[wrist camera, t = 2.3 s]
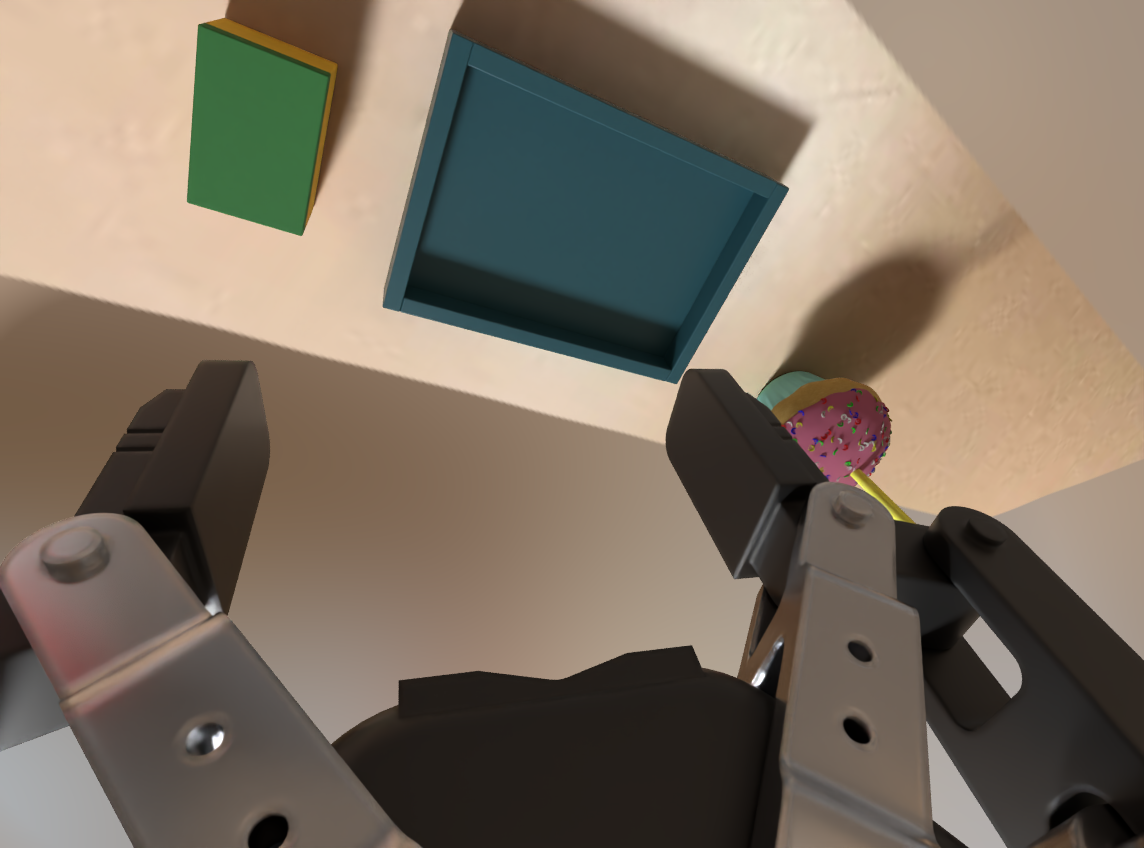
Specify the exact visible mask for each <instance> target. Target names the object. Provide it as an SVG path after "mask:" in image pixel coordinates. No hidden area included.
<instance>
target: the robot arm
mask: <svg viewBox="0 0 1144 848" xmlns="http://www.w3.org/2000/svg"><path fill="white" fill-rule="evenodd" d="M666 450H667V454H668V457H669V459H670V461H671V463H672V465H673V467H674V469H675V471H676V472H677V474H678V476H679V478H680V480H681V482H682V483H683V485H684V487H685V489H686V491H687V493H688V495H689V497H690V498H691V500H692V502H693V504H694V506H695V508H696V510H697V511H698V513H699V515H700V517H701V519H702V521H703V523H704V524H705V526H706V528H707V530H708V532H709V534H710V535H711V537H712V539H713V541H714V543H715V545H716V547H717V548H718V550H719V552H720V554H721V556H722V558H723V559H724V561H725V563H726V565H727V567H728V569H729V571H730V572H731V574H732V576H733V578H734V579H741V578H753V577H759V578H760V580H761V581H762V583H763V585H762V587H761V589H760V591H759V593H758V595H757V598H756V602H755V607H754V611H753V615H752V619H751V623H750V628H749V632H748V636H747V641H746V644H745V649H744V653H743V657H742V662H741V665H740V669H739V673H738V676H737V678H736V677H733V676H730V675H728V674H725V673H721V672H717V671H714V670H710V669H706V668H701V665H700V663H699V661H698V658H697V656H696V654H695V652H694V649H693V647H692V646H682V647H674V648H666V649H657V650H649V651H640V652H632V653H626V654H624V655H621V656H619V657H616V658H614V659H611V660H609V661H606V662H604V663H602V664H599V665H597V666H594V667H592V668H589V669H587V670H584V671H582V672H580V673H577V674H575V675H572V676H570V677H568V678H564V679H560V680H549V679H541V678H532V677H523V676H516V675H507V674H499V673H491V672H483V671H474V672H465V673H458V674H449V675H441V676H432V677H424V678H416V679H407V680H399V705H397V706H394V707H392V708H389V709H387V710H385V711H382V712H380V713H378V714H376V715H374V716H372V717H370V718H368V719H366V720H365V721H363V722H361V723H359V724H358V725H356V726H355V727H353V728H352V729H350V730H349V731H347V732H346V733H345V734H343V735H342V736H341V737H339V738H338V739H337V740H336V741H335V742H333V743H332V744H330V743H329V742H328V740H327V739H326V738H325V736H324V735H323V734H322V733H321V731H320V730H319V729H318V728H317V727H316V725H315V724H314V723H313V721H312V720H311V719H310V718H309V716H308V715H307V714H306V713H305V711H304V710H303V709H302V708H301V707H300V705H299V704H298V703H297V701H296V700H295V699H294V698H293V697H292V695H291V694H290V693H289V692H288V690H287V689H286V688H285V686H284V685H283V684H282V683H281V681H280V680H279V679H278V678H277V676H276V675H275V674H274V673H273V671H272V670H271V669H270V668H269V667H268V665H267V664H266V663H265V661H264V660H263V659H262V658H261V656H260V655H259V654H258V653H257V652H256V650H255V649H254V648H253V647H252V645H251V644H250V643H249V642H248V640H247V639H246V638H245V636H244V635H243V634H242V633H241V631H240V630H239V629H238V628H237V627H236V625H235V624H234V623H233V622H232V621H231V620H230V618H229V617H228V612H229V609H230V605H231V601H232V598H233V594H234V591H235V587H236V583H237V580H238V576H239V572H240V569H241V565H242V561H243V558H244V554H245V550H246V547H247V543H248V540H249V536H250V532H251V528H252V525H253V521H254V518H255V514H256V510H257V507H258V503H259V500H260V495H261V492H262V488H263V485H264V481H265V477H266V474H267V470H268V466H269V458H270V441H269V432H268V427H267V421H266V416H265V410H264V405H263V400H262V394H261V389H260V383H259V378H258V373H257V369H256V367H255V364H254V363H253V361H234V360H233V361H232V360H202V361H201V362H200V363H199V365H198V367H197V368H196V370H195V372H194V374H193V376H192V378H191V380H190V382H189V384H188V385H187V388H186V389H184V390H183V389H182V390H181V389H175V390H174V389H166V390H164V391H163V392H162V393H160V394H159V395H157V396H156V397H155V398H153V399H152V400H150V401H149V402H147V403H146V404H145V405H143V406H142V407H140V409H139V410H138V412H137V414H136V415H135V417H134V419H133V420H132V422H131V423H130V425H129V427H128V428H127V434H124V435H123V437H122V438H121V440H120V442H119V443H118V445H117V447H116V452H113V453H112V455H111V457H110V458H109V460H108V461H107V463H106V465H105V466H104V468H103V470H102V471H101V473H100V475H99V476H98V478H97V480H96V481H95V483H94V485H93V486H92V488H91V490H90V491H89V493H88V495H87V497H86V498H85V499H84V501H83V503H82V505H81V506H80V508H79V509H78V511H77V513H76V514H75V516H74V517H72V518H68V519H64V520H62V521H59V522H56V523H53V524H51V525H49V526H46V527H44V528H42V529H40V530H39V531H37V532H35V533H33V534H31V535H30V536H29V537H27V538H26V539H24V540H23V541H22V542H20V543H19V544H18V545H17V546H16V547H14V548H13V549H12V550H11V552H10V553H9V554H8V555H7V556H6V557H5V559H4V561H3V562H2V564H1V566H0V751H3V750H6V749H8V748H11V747H13V746H16V745H19V744H22V743H24V742H27V741H30V740H32V739H35V738H37V737H40V736H43V735H46V734H48V733H51V732H54V731H56V730H59V729H62V728H64V727H67V726H70V727H71V729H72V731H73V733H74V735H75V737H76V739H77V741H78V743H79V745H80V746H81V748H82V750H83V752H84V754H85V756H86V758H87V760H88V761H89V763H90V765H91V767H92V769H93V771H94V773H95V775H96V777H97V779H98V781H99V782H100V784H101V786H102V788H103V790H104V792H105V794H106V796H107V797H108V799H109V801H110V803H111V805H112V807H113V809H114V811H115V813H116V815H117V816H118V818H119V820H120V822H121V824H122V826H123V828H124V830H125V832H126V833H127V835H128V837H129V839H130V841H131V843H132V845H133V847H134V848H968V847H967V846H965V844H963V843H962V842H961V841H959V840H958V839H957V838H955V837H954V836H953V835H951V834H950V833H949V832H948V831H946V830H945V829H944V828H942V827H941V826H940V825H938V824H937V823H936V822H935V821H933V820H932V807H931V792H930V776H929V759H928V745H927V728H926V721H927V722H928V724H929V726H930V727H931V729H932V730H933V732H934V733H935V735H936V737H937V738H938V740H939V741H940V743H941V744H942V746H943V748H944V749H945V751H946V752H947V754H948V755H949V757H950V759H951V760H952V762H953V763H954V765H955V766H956V768H957V770H958V771H959V772H960V774H961V776H962V777H963V779H964V780H965V782H966V784H967V785H968V787H969V788H970V790H971V791H972V793H973V795H974V796H975V798H976V799H977V800H978V802H979V804H980V805H981V807H982V809H983V810H984V812H985V813H986V815H987V817H988V818H989V820H990V821H991V823H992V824H993V826H994V827H995V829H996V831H997V832H998V834H999V835H1000V837H1001V838H1002V840H1003V841H1004V843H1005V845H1006V846H1007V848H1144V660H1143V659H1142V658H1141V657H1140V656H1139V655H1138V654H1137V653H1136V652H1135V651H1134V650H1133V649H1132V648H1131V647H1129V646H1128V644H1127V643H1126V642H1124V640H1122V638H1121V637H1119V635H1117V634H1116V633H1115V632H1114V631H1113V630H1112V629H1111V628H1110V627H1109V626H1108V625H1107V624H1106V623H1105V622H1104V621H1103V620H1102V619H1101V618H1100V617H1099V616H1098V615H1097V614H1096V613H1095V612H1094V611H1093V610H1092V609H1091V608H1090V607H1089V606H1088V605H1087V604H1086V603H1085V602H1084V601H1083V600H1082V599H1081V598H1080V597H1079V596H1078V595H1077V594H1076V593H1075V592H1074V591H1073V590H1072V589H1071V588H1070V587H1069V586H1068V585H1067V584H1066V583H1065V582H1064V581H1063V580H1062V579H1061V578H1060V577H1059V576H1058V575H1057V574H1056V573H1055V572H1054V571H1052V569H1051V568H1050V567H1048V565H1047V564H1045V563H1044V562H1043V561H1042V560H1041V559H1040V558H1039V557H1038V556H1037V555H1036V554H1035V553H1034V552H1033V551H1032V550H1031V549H1030V548H1029V547H1028V546H1027V545H1026V544H1025V543H1024V542H1023V541H1022V540H1021V539H1020V538H1019V537H1018V536H1017V535H1016V534H1015V533H1014V532H1013V531H1012V530H1010V529H1009V528H1008V527H1007V526H1005V525H1004V524H1002V523H1001V522H999V521H998V520H996V519H994V518H992V517H990V516H988V515H986V514H984V513H982V512H979V511H977V510H974V509H970V508H966V507H959V506H951V507H947V508H944V509H943V510H941V512H940V513H939V514H938V516H937V517H936V519H935V520H934V521H933V523H932V524H931V526H930V527H929V526H924V525H919V524H914V523H909V522H904V521H899V520H894V519H893V517H892V515H891V514H890V512H889V511H888V509H887V508H886V507H885V506H884V505H883V504H882V503H881V502H880V501H878V500H877V499H876V498H875V497H873V496H872V495H870V494H868V493H867V492H865V491H863V490H861V489H859V488H856V487H854V486H851V485H848V484H844V483H839V482H830V481H829V480H828V479H827V478H826V476H825V475H824V474H823V473H822V472H821V470H820V469H819V468H818V467H817V466H816V464H815V463H814V462H813V461H812V460H811V458H810V457H809V456H808V455H807V454H806V452H805V451H804V450H803V449H802V447H801V446H800V445H799V444H798V443H797V441H796V440H792V435H791V434H790V433H789V432H788V431H787V429H786V428H785V427H781V422H780V421H779V420H778V419H777V417H776V416H775V415H774V414H773V413H772V411H771V410H770V409H769V408H768V407H767V406H766V405H764V404H763V403H761V402H760V401H758V400H757V399H756V398H754V397H753V396H751V395H750V394H748V393H745V392H744V391H743V390H742V388H741V387H740V386H739V385H738V383H737V382H736V381H735V380H734V378H733V377H732V376H731V375H730V373H729V372H728V371H726V370H724V369H689V370H688V371H686V373H685V374H684V376H683V378H682V381H681V384H680V388H679V391H678V394H677V398H676V401H675V404H674V408H673V411H672V414H671V418H670V421H669V424H668V427H667V432H666ZM980 616H981V617H982V619H983V620H984V621H985V622H986V623H987V625H988V626H989V627H990V628H991V630H992V631H993V632H994V633H995V634H996V635H997V637H998V638H999V639H1000V640H1001V642H1002V643H1003V644H1004V645H1005V646H1006V648H1007V649H1008V650H1009V651H1010V652H1011V654H1012V655H1013V656H1014V658H1015V659H1016V661H1017V662H1018V664H1019V667H1020V669H1021V673H1022V685H1021V688H1020V690H1019V691H1018V693H1017V694H1016V695H1015V696H1013V697H1012V698H1010V697H1009V695H1008V694H1007V693H1006V691H1005V690H1004V689H1003V688H1002V686H1001V685H1000V684H999V683H998V681H997V680H996V678H995V677H994V676H993V675H992V673H991V672H990V671H989V669H988V668H987V667H986V666H985V664H984V663H983V662H982V661H981V660H980V658H979V657H978V655H977V654H976V653H975V652H974V650H973V649H972V648H971V646H970V645H969V644H968V642H967V641H966V640H965V639H964V637H963V635H964V634H965V632H966V631H967V630H968V629H969V628H970V627H971V626H972V624H973V623H974V622H975V621H976V620H977V619H978V618H979V617H980Z"/></svg>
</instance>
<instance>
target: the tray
mask: <svg viewBox="0 0 1144 848" xmlns="http://www.w3.org/2000/svg"><path fill="white" fill-rule="evenodd" d="M788 191H789V188H788V187H787V186H785V185H783V184H781V183H780V182H778V181H776V180H774V179H773V178H771V177H769V176H767V175H765V174H763V173H760V172H758V171H756V170H754V169H752V168H750V167H748V166H745V165H743V164H741V163H739V162H737V161H735V160H733V159H730V158H728V157H726V156H724V155H722V154H720V153H717V152H715V151H713V150H711V149H709V148H707V147H705V146H702V145H700V144H698V143H696V142H694V141H692V140H689V139H687V138H685V137H683V136H681V135H679V134H677V133H674V132H672V131H670V130H668V129H666V128H664V127H662V126H659V125H657V124H655V123H653V122H651V121H649V120H646V119H644V118H642V117H640V116H638V115H636V114H634V113H631V112H629V111H627V110H625V109H623V108H621V107H619V106H616V105H614V104H612V103H610V102H608V101H606V100H603V99H601V98H599V97H597V96H595V95H593V94H591V93H588V92H586V91H584V90H582V89H580V88H578V87H575V86H573V85H571V84H569V83H567V82H565V81H563V80H560V79H558V78H556V77H554V76H552V75H550V74H548V73H545V72H543V71H541V70H539V69H537V68H535V67H532V66H530V65H528V64H526V63H524V62H522V61H520V60H517V59H515V58H513V57H511V56H509V55H507V54H504V53H502V52H500V51H498V50H496V49H494V48H492V47H489V46H487V45H485V44H483V43H481V42H479V41H477V40H474V39H472V38H470V37H468V36H466V35H464V34H461V33H459V32H457V31H455V30H453V29H450V30H449V33H448V37H447V41H446V45H445V49H444V53H443V57H442V61H441V65H440V69H439V73H438V77H437V81H436V85H435V89H434V93H433V97H432V101H431V105H430V109H429V113H428V117H427V121H426V124H425V128H424V132H423V136H422V140H421V144H420V148H419V152H418V156H417V160H416V164H415V168H414V172H413V176H412V180H411V184H410V188H409V192H408V196H407V200H406V204H405V208H404V212H403V215H402V219H401V223H400V227H399V231H398V235H397V239H396V243H395V247H394V251H393V255H392V259H391V263H390V267H389V271H388V275H387V279H386V283H385V287H384V295H383V308H387V309H391V310H395V311H398V312H399V311H401V312H403V313H407V314H411V315H414V316H418V317H422V318H426V319H430V320H433V321H437V322H441V323H445V324H449V325H453V326H456V327H460V328H464V329H468V330H472V331H475V332H479V333H483V334H487V335H491V336H494V337H498V338H502V339H506V340H510V341H513V342H517V343H521V344H525V345H529V346H533V347H536V348H540V349H544V350H548V351H552V352H555V353H559V354H563V355H567V356H571V357H574V358H578V359H582V360H586V361H590V362H593V363H597V364H601V365H605V366H609V367H613V368H616V369H620V370H624V371H628V372H632V373H635V374H639V375H643V376H647V377H651V378H654V379H658V380H662V381H667V382H670V383H674V384H677V383H678V381H679V380H680V378H681V376H682V374H683V373H684V371H685V369H686V367H687V366H688V364H689V362H690V360H691V359H692V357H693V355H694V354H695V352H696V350H697V348H698V347H699V345H700V343H701V341H702V340H703V338H704V336H705V334H706V333H707V331H708V329H709V328H710V326H711V324H712V322H713V321H714V319H715V317H716V315H717V314H718V312H719V310H720V308H721V307H722V305H723V303H724V302H725V300H726V298H727V296H728V295H729V293H730V291H731V289H732V288H733V286H734V284H735V282H736V281H737V279H738V277H739V276H740V274H741V272H742V270H743V269H744V267H745V265H746V263H747V262H748V260H749V258H750V257H751V255H752V253H753V251H754V250H755V248H756V246H757V244H758V243H759V241H760V239H761V237H762V236H763V234H764V232H765V231H766V229H767V227H768V225H769V224H770V222H771V220H772V218H773V217H774V215H775V213H776V211H777V210H778V208H779V206H780V205H781V203H782V201H783V199H784V198H785V196H786V194H787V192H788Z"/></svg>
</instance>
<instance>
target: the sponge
mask: <svg viewBox="0 0 1144 848" xmlns="http://www.w3.org/2000/svg"><path fill="white" fill-rule="evenodd" d="M337 68H338V64H337V63H334V62H332V61H329V60H327V59H324V58H322V57H319V56H317V55H315V54H312V53H310V52H307V51H305V50H302V49H300V48H297V47H295V46H293V45H290V44H288V43H285V42H283V41H280V40H278V39H275V38H273V37H271V36H268V35H266V34H263V33H261V32H258V31H256V30H253V29H251V28H249V27H246V26H244V25H241V24H239V23H236V22H234V21H231V20H229V19H227V18H222V19H218V20H214V21H210V22H206V23H203V24H199V25H198V36H197V52H196V67H195V83H194V99H193V114H192V130H191V146H190V161H189V177H188V193H187V202H188V203H190V204H194V205H197V206H201V207H204V208H207V209H211V210H214V211H218V212H221V213H224V214H228V215H231V216H235V217H238V218H241V219H245V220H248V221H252V222H255V223H258V224H262V225H265V226H269V227H272V228H276V229H279V230H282V231H286V232H289V233H293V234H296V235H299V236H302V235H303V232H304V230H305V227H306V225H307V222H308V220H309V218H310V215H311V213H312V210H313V206H314V200H315V195H316V189H317V183H318V177H319V172H320V166H321V160H322V154H323V149H324V143H325V137H326V131H327V125H328V120H329V114H330V108H331V102H332V97H333V91H334V85H335V79H336V74H337Z"/></svg>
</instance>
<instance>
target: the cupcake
mask: <svg viewBox="0 0 1144 848" xmlns="http://www.w3.org/2000/svg"><path fill="white" fill-rule="evenodd" d="M757 400H758V401H760V402H761V403H763V404H764V405H766V406H767V407H768V408H769V409H770V410H771V411H772V413H773V414H774V415H775V416H776V417H777V419H778V420H779V421H780V422H781V427H785V428H786V429H787V431H788V432H789V433H790V434H791V435H792V440H796V441H797V443H798V444H799V445H800V446H801V447H802V449H803V450H804V451H805V452H806V454H807V455H808V456H809V457H810V458H811V460H812V461H813V462H814V463H815V464H816V466H817V467H818V468H819V469H820V470H821V472H822V473H823V474H824V475H825V476H826V478H827V479H828V480H829V481H830V482H839V483H844V484H848V485H851V486H856V485H857V484H859V485H860V486H861V487H862V488H863V489H864V490H865V491H866V492H867V493H868V494H870V495H872V496H873V497H875V498H876V499H877V500H878V501H880V502H881V503H882V504H883V505H884V506H885V507H886V508H887V509H888V511H889V512H890V514H891V515H892V517H893V519H894V520H899V521H904V522H909V523H914V521H913V520H912V519H911V518H909V517H908V516H907V515H906V514H905V513H904V512H903V511H902V510H901V509H900V508H899V507H898V506H897V505H896V504H895V503H894V502H893V501H892V500H891V499H890V498H889V497H888V496H887V495H886V494H885V493H884V492H883V491H882V490H881V489H880V488H879V487H878V486H877V485H876V484H875V483H874V482H873V481H872V480H871V479H870V478H869V476H871V473H874V472H875V466H876V465H878V464H879V463H880V460H881V459H880V458H881V457H884V456H885V455H886V453H885V451H886V450H887V448H888V447H889V446H890V434H892V431H891V430H890V429H891V423H890V421H891V422H892V420H891V419H890V418H889V415H888V412H889V409H888V408H887V407H885V404H884V403H882V401H881V399H880V398H879V396H878V395H877V393H876V392H875V391H874V390H873V389H872V388H870V387H868V386H866V385H864V384H861V383H858V382H854V381H852V380H849V379H847V378H834V379H828V380H825V379H823V378H820V377H818V376H816V375H813V374H811V373H808V372H804V371H795V372H790V373H787V374H784V375H782V376H780V377H778V378H776V379H775V380H773V381H772V382H770V383H769V384H768V385H767V386H766V387H765V388H764V389H763V390H762V392H761V393H760V394H759V396H758V398H757ZM914 524H916V523H914Z"/></svg>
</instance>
